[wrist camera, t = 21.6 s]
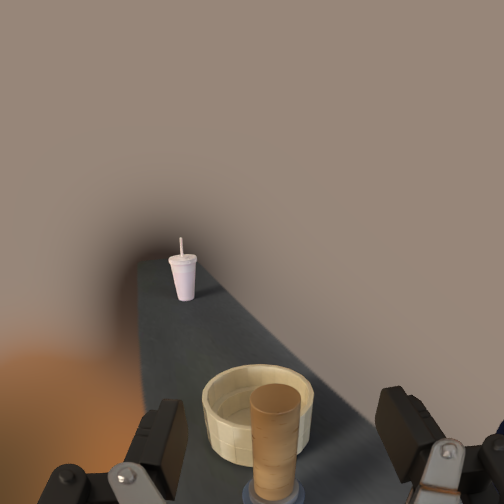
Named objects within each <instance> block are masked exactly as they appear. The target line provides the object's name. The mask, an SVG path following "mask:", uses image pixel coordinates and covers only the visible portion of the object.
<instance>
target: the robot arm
mask: <svg viewBox="0 0 504 504" xmlns="http://www.w3.org/2000/svg"><path fill="white" fill-rule="evenodd" d="M375 425H376V429H377V431H378V433H379V436H380V438H381V440H382V442H383V444H384V446H385V449H386V451H387V453H388V455H389V457H390V460H391V462H392V464H393V466H394V468H395V471H396V473H397V475H398V477H399V480H400V482H401V484H402V483H406V482H409V481H411V482H412V484H413V486H412V488H411V490H410V493H409V495H408V497H407V500H406V502H405V504H458V503H459V500H460V498H461V500H462V502H463V504H504V435H502V434H493V435H490V436H488V437H487V438H486V439H485V441H484V442H483V444H482V445H477V446H467V447H464V446H463V444H462V443H461V442H459V441H458V440H455V439H452V438H446V437H445V435H444V433H443V432H442V431H441V429H440V428H439V426H438V425H437V423H436V422H435V420H434V419H433V417H431V415H430V413H429V412H428V410H426V407H425V406H424V405H423V403H422V402H421V401H420V400H419V399H417V398H416V397H414V396H413V395H409V396H407V394H406V393H405V391H404V390H403V388H402V387H401V386H395V387H389V388H384V389H382V391H381V394H380V398H379V403H378V407H377V411H376V415H375ZM138 427H139V428H138V429H137V431H136V433H135V436H134V438H133V440H132V443H131V445H130V447H129V450H128V452H127V455H126V457H125V459H124V462H123V463H119V464H117V465H115V466H114V467H112V469H111V470H110V471H109V472H108V473H90V474H86V473H85V471H84V470H83V469H82V468H81V467H79V466H78V465H75V464H64V465H61V466H59V467H57V468H56V469H55V470H54V471H53V472H52V474H51V476H50V478H49V480H48V482H47V484H46V487H45V489H44V491H43V493H42V495H41V497H40V499H39V501H38V503H37V504H167V502H166V501H165V500H172V501H174V500H175V496H176V491H177V486H178V482H179V477H180V473H181V468H182V464H183V459H184V455H185V450H186V446H187V441H188V425H187V421H186V416H185V411H184V406H183V402H182V400H174V399H163V400H162V401H161V404H160V407H159V409H158V410H150V411H149V412H148V413H146V414H145V415H144V416H143V417H142V419H141V421H140V424H139V426H138ZM492 481H493V483H494V485H495V487H496V488H497V490H498V492H499V494H498V493H497V491H496V489H495V487H494V486H493V484H492ZM499 495H500V496H499Z"/></svg>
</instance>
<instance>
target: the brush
mask: <svg viewBox="0 0 504 504" xmlns="http://www.w3.org/2000/svg"><path fill="white" fill-rule="evenodd" d="M249 400H250V420H251V439H252V457H253V475H254V477H253V478H252V479H251V480H250V481H249V482H248V483H247V484H246V485H245V487H244V489H243V493H242V497H243V504H304V499H305V490H304V487H303V485H302V484H301V482H300V481H299V480H298V479H296V478H295V469H296V459H297V448H298V436H299V423H300V409H301V395H300V393H299V392H298V391H297V390H296V389H295V388H293V387H291V386H289V385H285V384H278V383H273V384H266V385H263V386H260V387H258V388H257V389H255V390H254V391H253V392H252V393H251V395H250V399H249Z"/></svg>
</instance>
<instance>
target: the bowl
mask: <svg viewBox="0 0 504 504" xmlns="http://www.w3.org/2000/svg"><path fill="white" fill-rule="evenodd" d="M273 383H278V384H285V385H289V386H291V387H293V388H295V389H296V390H297V391H298V392H299V393H300V395H301V409H300V423H299V436H298V448H297V454H299V453H300V452H301V451H302V450H303V449H304V447H305V446H306V444H307V443H308V441H309V436H310V430H311V421H312V411H313V401H314V391H313V389H312V386H311V384H310V382H309V381H308V380H307V379H306V378H305V377H304V376H303V375H301V374H299V373H297V372H295V371H293V370H291V369H288V368H284V367H281V366H277V365H266V364H255V365H244V366H240V367H235V368H231V369H229V370H227V371H224V372H222V373H220V374H218V375H217V376H215V377H214V378H213V379H211V380H210V381H209V382H208V384H207V385H206V387H205V388H204V390H203V396H202V404H203V410H204V416H205V422H206V428H207V434H208V439H209V441H210V443H211V446H212V448H213V449H214V450H215V451H216V452H217V453H218V454H219V455H220V456H221V457H222V458H224V459H226V460H228V461H230V462H232V463H235V464H237V465H243V466H248V467H253V457H252V439H251V420H250V400H249V399H250V395H251V393H252V392H253V391H254V390H255V389H257V388H258V387H260V386H263V385H266V384H273Z"/></svg>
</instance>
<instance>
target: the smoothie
mask: <svg viewBox="0 0 504 504" xmlns="http://www.w3.org/2000/svg"><path fill="white" fill-rule="evenodd" d="M180 249H181V255H176V256H172V257H170V258H169V263H170V264H171V268H172V273H173V277H174V282H175V286H176V290H177V295H178V299H179V300H181V301H189V300H192V299H194V291H195V268H196V261H197V257H196V256H195V255H191V254H183V244H182V238H180Z"/></svg>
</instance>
